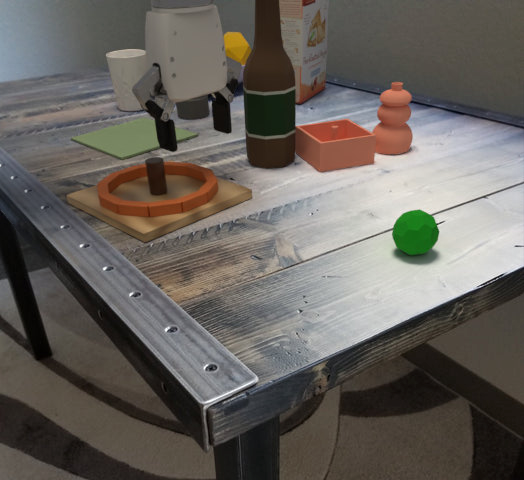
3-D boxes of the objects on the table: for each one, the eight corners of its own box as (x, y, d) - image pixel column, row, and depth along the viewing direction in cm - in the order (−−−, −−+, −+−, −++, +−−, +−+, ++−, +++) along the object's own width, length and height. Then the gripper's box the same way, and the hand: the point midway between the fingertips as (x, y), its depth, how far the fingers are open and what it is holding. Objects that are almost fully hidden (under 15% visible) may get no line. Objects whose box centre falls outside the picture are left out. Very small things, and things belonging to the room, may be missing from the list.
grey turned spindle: (194, 121, 110) (178, -38, 94) (171, 116, 113) (152, -39, 97) (216, 113, 113) (204, -41, 98) (192, 108, 116) (177, -41, 101)
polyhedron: (381, 249, 66) (385, 210, 64) (413, 238, 68) (418, 199, 66) (412, 267, 63) (417, 226, 60) (444, 254, 65) (451, 215, 62)
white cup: (162, 104, 120) (155, 51, 114) (136, 114, 114) (127, 58, 108) (133, 100, 123) (125, 48, 117) (107, 109, 118) (97, 55, 112)
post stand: (145, 242, 70) (137, 198, 66) (68, 203, 80) (58, 163, 77) (252, 197, 80) (250, 157, 76) (171, 167, 90) (166, 130, 87)
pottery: (319, 172, 86) (321, 102, 80) (295, 152, 94) (295, 87, 88) (424, 154, 91) (433, 87, 85) (393, 137, 98) (400, 74, 92)
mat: (122, 160, 93) (121, 157, 93) (70, 140, 103) (70, 137, 102) (198, 136, 102) (198, 133, 102) (144, 119, 111) (144, 117, 111)
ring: (145, 227, 70) (143, 217, 69) (77, 194, 79) (74, 184, 78) (240, 189, 79) (240, 179, 78) (169, 163, 88) (168, 154, 87)
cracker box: (303, 105, 116) (304, -19, 103) (275, 102, 118) (273, -19, 106) (327, 88, 126) (331, -26, 113) (302, 86, 128) (303, -26, 116)
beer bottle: (305, 161, 90) (308, -21, 76) (264, 173, 87) (258, -16, 72) (276, 149, 95) (274, -25, 81) (236, 159, 92) (226, -20, 78)
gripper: (215, -14, 76) (224, 120, 87) (102, 2, 67) (128, 151, 77) (255, -11, 72) (260, 130, 82) (140, 6, 63) (162, 163, 73)
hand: (196, 140), depth 80 cm, fingers open, 9 cm apart
